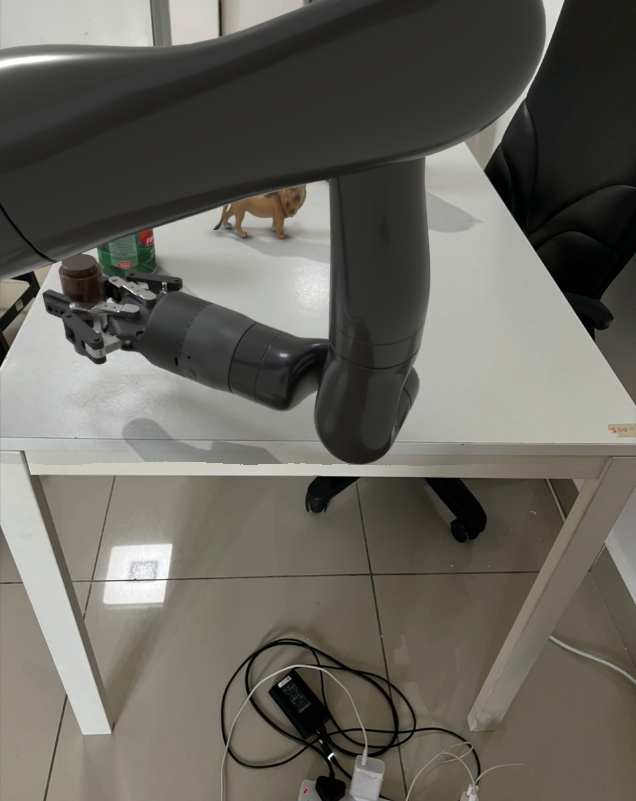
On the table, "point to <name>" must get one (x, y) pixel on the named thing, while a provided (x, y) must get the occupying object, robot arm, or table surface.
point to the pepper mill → (83, 281)
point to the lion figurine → (266, 209)
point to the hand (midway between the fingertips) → (63, 289)
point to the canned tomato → (128, 255)
